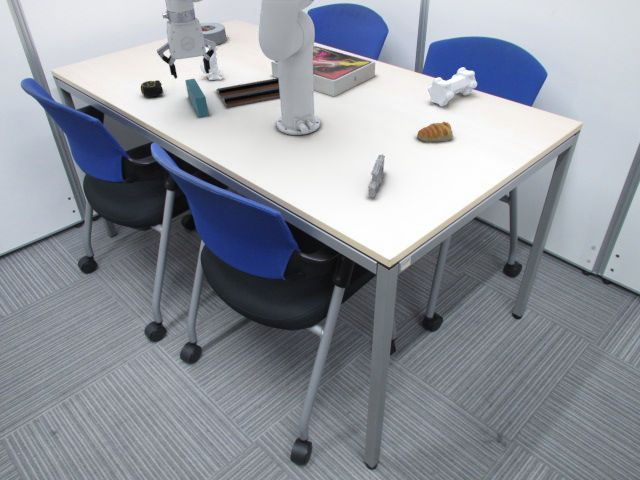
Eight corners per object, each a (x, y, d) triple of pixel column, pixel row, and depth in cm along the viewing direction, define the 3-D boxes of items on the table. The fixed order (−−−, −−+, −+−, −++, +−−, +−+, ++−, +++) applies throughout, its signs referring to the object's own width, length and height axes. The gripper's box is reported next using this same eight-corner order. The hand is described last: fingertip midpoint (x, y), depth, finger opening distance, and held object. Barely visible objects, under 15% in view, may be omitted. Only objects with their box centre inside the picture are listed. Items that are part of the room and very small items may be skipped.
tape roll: (183, 46, 213) (180, 33, 210) (196, 34, 225) (194, 21, 221) (219, 47, 211) (218, 34, 207) (231, 35, 222) (229, 22, 219)
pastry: (423, 145, 144) (424, 133, 141) (412, 135, 149) (413, 122, 146) (454, 140, 146) (456, 127, 143) (442, 129, 151) (443, 117, 149)
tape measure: (164, 97, 174) (162, 86, 172) (143, 100, 172) (140, 89, 170) (162, 89, 179) (160, 78, 177) (141, 92, 177) (139, 81, 175)
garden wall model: (374, 199, 124) (375, 177, 121) (367, 198, 125) (367, 176, 121) (384, 173, 133) (386, 152, 130) (377, 172, 134) (378, 151, 130)
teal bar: (208, 115, 162) (205, 96, 158) (198, 117, 161) (195, 98, 157) (197, 96, 174) (194, 78, 170) (188, 97, 173) (185, 80, 169)
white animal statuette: (228, 78, 185) (223, 43, 177) (211, 84, 181) (206, 48, 174) (216, 72, 190) (210, 38, 182) (199, 77, 186) (193, 42, 179)
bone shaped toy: (454, 88, 173) (458, 63, 168) (476, 96, 168) (481, 71, 163) (424, 102, 166) (427, 76, 161) (446, 110, 160) (450, 84, 155)
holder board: (293, 95, 172) (292, 89, 171) (227, 108, 166) (226, 101, 165) (279, 80, 182) (279, 74, 181) (216, 91, 176) (215, 85, 175)
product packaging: (314, 58, 198) (313, 45, 195) (374, 76, 183) (375, 61, 180) (272, 76, 186) (271, 61, 183) (333, 96, 171) (333, 81, 168)
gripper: (152, 23, 145) (164, 83, 156) (214, 15, 150) (222, 74, 161) (148, 15, 151) (160, 74, 161) (208, 8, 156) (216, 66, 166)
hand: (191, 74), depth 161 cm, fingers open, 9 cm apart
